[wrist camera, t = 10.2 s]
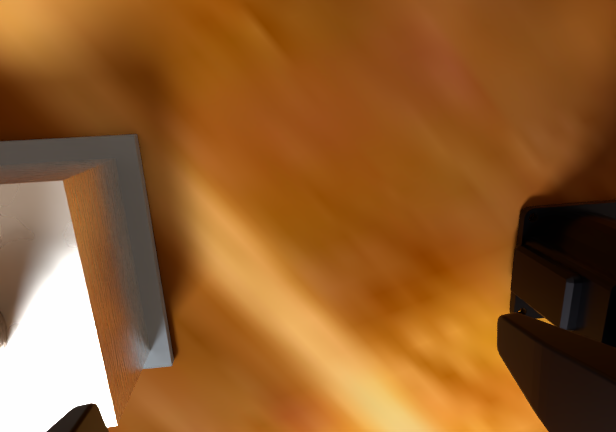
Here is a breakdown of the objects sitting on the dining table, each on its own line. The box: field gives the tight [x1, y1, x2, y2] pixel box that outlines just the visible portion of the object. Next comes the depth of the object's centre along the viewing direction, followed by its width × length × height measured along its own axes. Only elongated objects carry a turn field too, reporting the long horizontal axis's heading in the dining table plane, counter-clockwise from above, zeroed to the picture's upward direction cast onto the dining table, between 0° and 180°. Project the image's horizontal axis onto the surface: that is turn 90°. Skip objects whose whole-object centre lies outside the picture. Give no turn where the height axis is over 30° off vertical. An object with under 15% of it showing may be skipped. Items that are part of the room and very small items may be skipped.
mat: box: [0, 134, 174, 369], centre depth 19 cm, size 12×12×1 cm
